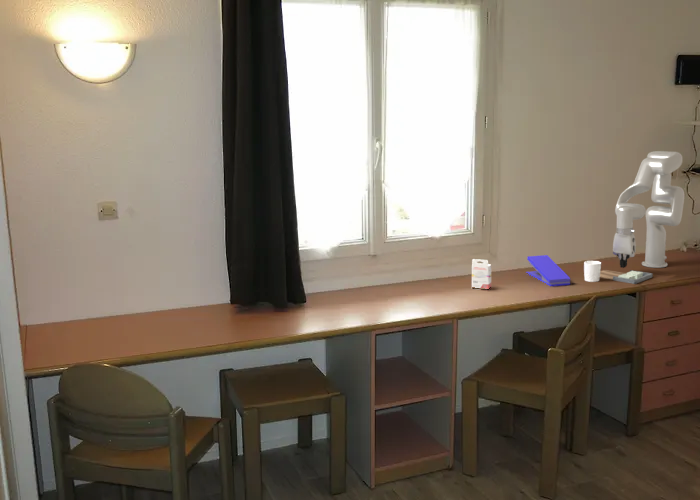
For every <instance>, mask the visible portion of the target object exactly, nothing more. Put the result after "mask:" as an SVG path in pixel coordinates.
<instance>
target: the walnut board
mask: <svg viewBox="0 0 700 500" xmlns="http://www.w3.org/2000/svg"><path fill="white" fill-rule="evenodd" d="M627 273H628V272H620V271H614V270H608V269H603V270H601V271H600V279H606V280H612V281H614V280H613V276H616V277H618V276H619V275H622V274H627Z"/></svg>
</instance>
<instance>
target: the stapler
mask: <svg viewBox="0 0 700 500" xmlns="http://www.w3.org/2000/svg"><path fill="white" fill-rule="evenodd" d="M526 259H527V261H528V262H529V265H531V267H532V268H533V269H535V270H533V271H525V274H526V273H528V274H529V275H528V274H527V275H528V276H530V275H531V276H530V277H532V276H533V277H532V278H534V277H535V278H537V279H538V281H539V280H540V282H541V281H542V282H541V283H543V282H544V283H543V284H545V283H546V284H545V285H547V286H549V287H551V286H552V287H559V286H560V287H562V286H570V285H571V278H570V276H569V275H568V274H567V273H566V272H565V271H564V270H563V269H562V268H561V267H560V266H559V265H558V264H557V263H556V262H554V260H552V258H551V257H550V256H549V255H547V254H546V255H545V254H544V255H531V256H527V258H526ZM535 278H534V279H535ZM537 279H536V280H537Z"/></svg>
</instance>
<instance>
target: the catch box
mask: <svg viewBox="0 0 700 500" xmlns="http://www.w3.org/2000/svg"><path fill="white" fill-rule="evenodd" d="M631 271H634V269H633V270H632V269H630V270H629V272H631ZM635 271H636V272H642V273H643V277H640V278H638V279H635V280H633V279H627V278H622V277H616V276H613V280H612V281H615V282H621V283H626V284H634V285H636V284H639V283H642V282H644V281H647V280H649V279H651V278H653V275H654V273H651V272H645V271H639V270H635Z"/></svg>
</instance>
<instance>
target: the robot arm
mask: <svg viewBox="0 0 700 500" xmlns="http://www.w3.org/2000/svg"><path fill="white" fill-rule="evenodd" d="M683 160H684V159H683V155H682V154H681V153H680V152H678V151H666V150H657V151H656V150H655V151H650V152H648V154H647V155H646V158H644V159H642V161H641V163H640V165H639V168H638V171H637V174H636V176H635V179H634V181H633V183H632V184H631V185H629V186H628V187H627V188H626V189H624V190H623V191H622V192H621V193H620V195H619V197H618V199H617V202H616V205H615V209H614V214H615V215H616V228H615V229H616V230H615V233H614V235H613V241H612V254H613V255H615V256H616V257H617V258H618V260H619V267H620V268H622V269H625V268H626V267H627V266H628V259H629V258H633V257H636V256H635V255H636V254H635V253H636V252H637V251H636V249H637V248H636V247H637V243H636V236H635V234H636V229H634V228H633V227H634V224H633V223H634V221H635V220H641V219H642V218H644V216H645V222H646V235H645V236H646V237H645V238H646V239H645V240H646V241H645V255H644V257H645V258H644V261H642V262H641V265H642V266H644V267H647V268H653V269H655V268H658V269H659V268H661V269H662V268H665V267H666V268H667V267H668V263H667V261H666V262H665V260H666V259H667V256H666V241H667V231H666V228H665V226H668V227H669V226H670V227H676V226H679V225H680V223H681V222H682V217H683V210H684V203H685V191H684V189H683V188H682V187H681V186H678V185H672V184H671V183H672V174H673V172H675V171H677V170H678V169H679V168H680V167H681V166H682V164H683ZM650 190H651V201H652V202H653V203H655V204H660V205H652V206H649V207H648V208H647V209H646V207H645V205H643V204H640V203H632V202H631V203H630V202H629V200H630V199H631V198H633V197H635V196H637V195H640V194H643V193H646V192H649V191H650ZM661 204H662V205H661ZM663 205H670V206H663Z"/></svg>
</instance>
